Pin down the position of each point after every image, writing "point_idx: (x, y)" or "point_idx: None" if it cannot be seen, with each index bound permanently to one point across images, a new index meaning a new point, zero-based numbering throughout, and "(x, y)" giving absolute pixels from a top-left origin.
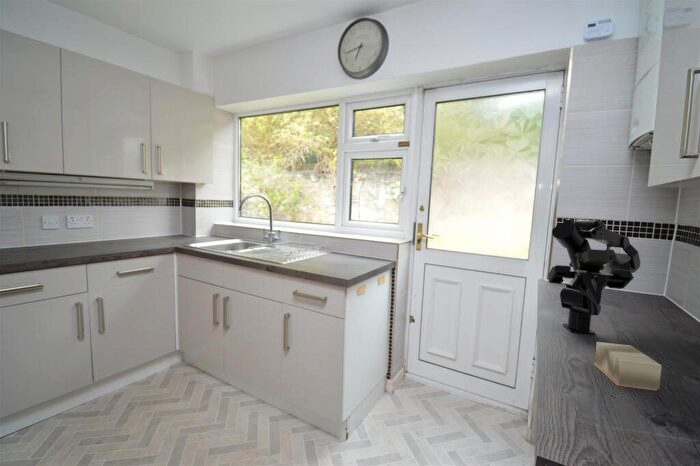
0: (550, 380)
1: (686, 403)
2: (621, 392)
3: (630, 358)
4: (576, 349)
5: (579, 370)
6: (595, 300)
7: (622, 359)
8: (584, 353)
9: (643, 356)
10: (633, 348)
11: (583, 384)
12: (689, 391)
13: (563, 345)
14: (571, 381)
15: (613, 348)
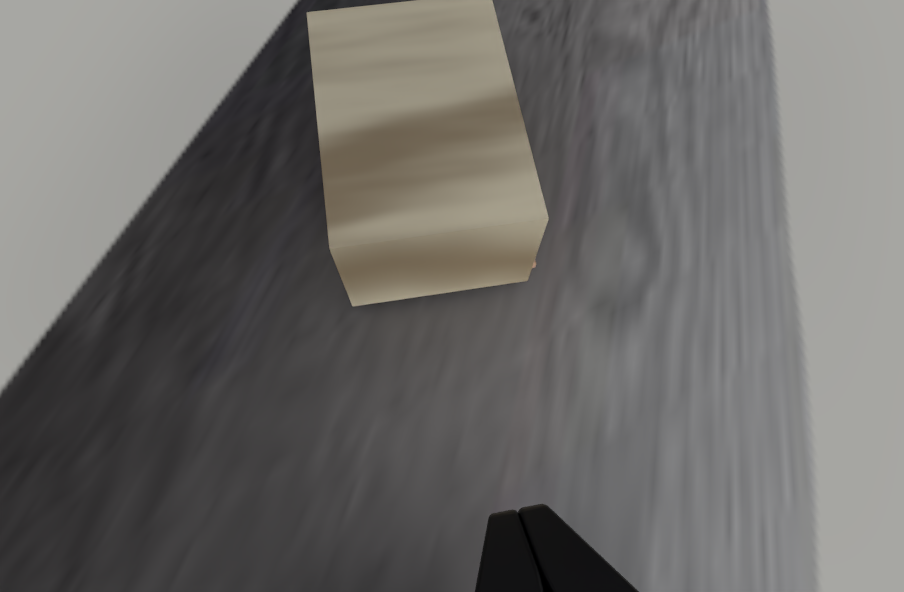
0: (740, 38)
1: (275, 62)
2: None
3: (429, 39)
4: (588, 492)
5: (615, 175)
6: (567, 533)
7: (478, 11)
8: (548, 436)
9: (341, 91)
10: (340, 195)
11: (618, 56)
12: (189, 165)
13: (667, 536)
14: (661, 61)
15: (473, 142)
